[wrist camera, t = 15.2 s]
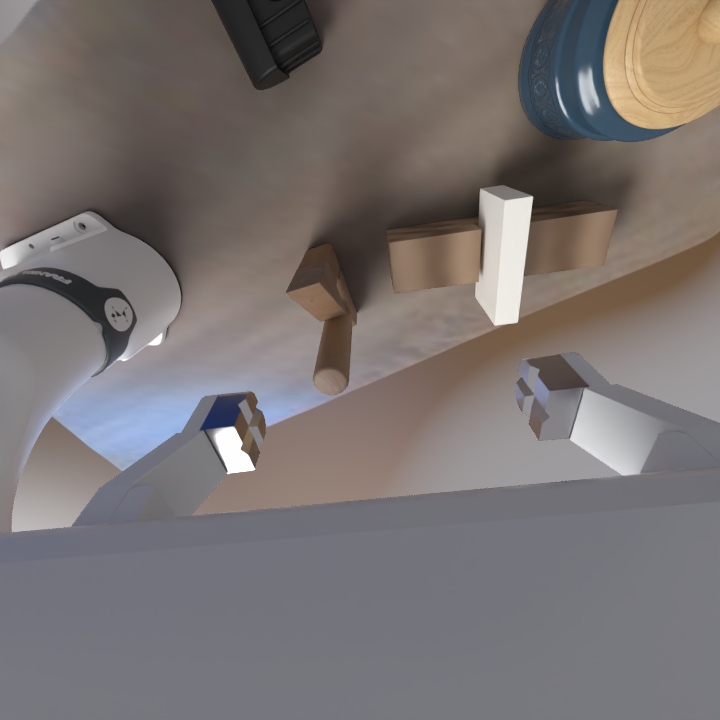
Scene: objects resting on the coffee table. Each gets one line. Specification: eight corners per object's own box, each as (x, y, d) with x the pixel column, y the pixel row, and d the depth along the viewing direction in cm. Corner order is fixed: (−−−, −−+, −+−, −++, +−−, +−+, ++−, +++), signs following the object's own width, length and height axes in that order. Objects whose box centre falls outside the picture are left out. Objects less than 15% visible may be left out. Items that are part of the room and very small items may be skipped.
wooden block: (331, 241, 44) (314, 297, 29) (357, 313, 49) (355, 392, 34) (305, 250, 44) (275, 309, 29) (333, 320, 50) (320, 401, 35)
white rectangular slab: (480, 188, 38) (504, 200, 31) (503, 184, 38) (533, 196, 31) (475, 296, 45) (494, 325, 38) (494, 294, 45) (517, 322, 38)
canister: (508, 148, 38) (599, 158, 23) (522, -19, 31) (667, -158, 16) (632, 128, 37) (811, 125, 22) (676, -51, 30) (985, -232, 15)
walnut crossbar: (390, 275, 46) (394, 293, 41) (386, 229, 43) (389, 242, 38) (576, 250, 44) (603, 265, 39) (586, 199, 41) (618, 209, 36)
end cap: (204, -34, 30) (167, -72, 25) (271, -87, 29) (248, -140, 23) (266, 94, 35) (247, 87, 30) (326, 56, 34) (319, 41, 28)
